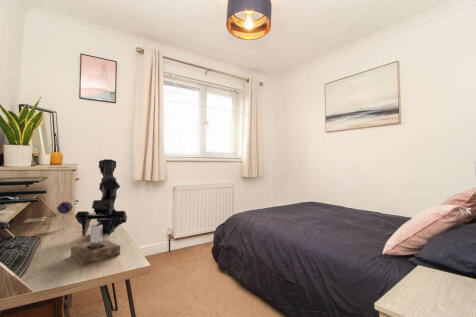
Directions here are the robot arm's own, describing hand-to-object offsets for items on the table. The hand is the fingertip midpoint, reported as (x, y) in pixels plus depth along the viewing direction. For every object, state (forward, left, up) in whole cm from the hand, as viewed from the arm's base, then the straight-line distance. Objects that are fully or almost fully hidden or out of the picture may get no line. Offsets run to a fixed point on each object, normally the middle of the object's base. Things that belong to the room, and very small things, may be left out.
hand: (95, 235), depth 92 cm
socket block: (0, 0, -8) cm, 8 cm away
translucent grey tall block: (0, 0, -8) cm, 8 cm away
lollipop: (-5, -52, -8) cm, 53 cm away
